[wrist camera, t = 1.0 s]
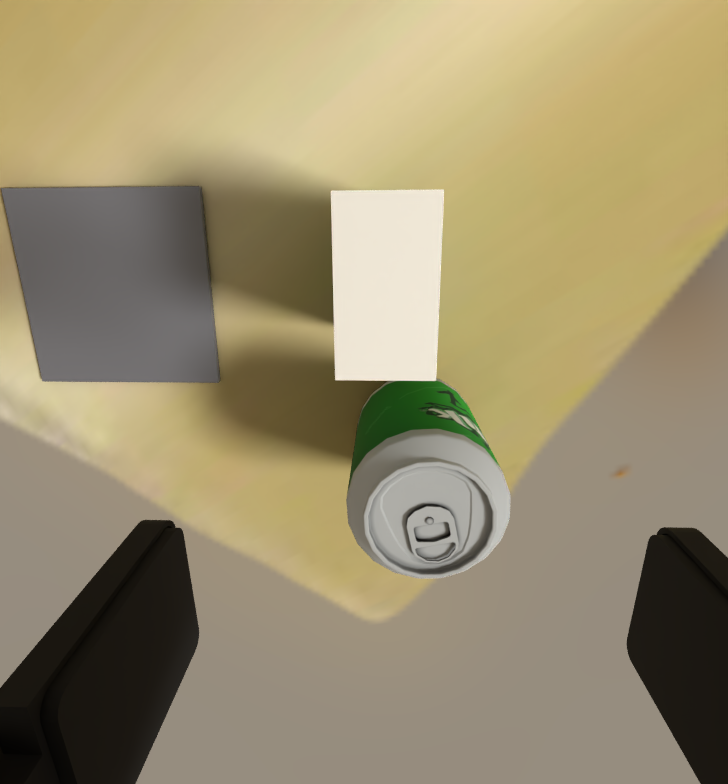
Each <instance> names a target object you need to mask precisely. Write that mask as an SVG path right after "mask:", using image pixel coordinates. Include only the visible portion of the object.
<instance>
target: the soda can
mask: <svg viewBox="0 0 728 784" xmlns="http://www.w3.org/2000/svg"><path fill="white" fill-rule="evenodd" d="M346 501H347V513H348V523H349V526H350V528H351V530H352V532H353V534H354V537H355V539H356V541H357V543H358V545H359V546H360V547H361V548H362V549H363V550H364V551H365V552H366V553H367V554H368V555H369V556H370V558H371V559H372V560H373V561H375V562H377V563H378V564H380V565H382V566H384V567H385V568H387V569H389V570H391V571H392V572H394V573H398V574H402V575H406V576H410V577H414V578H421V579H423V578H443V577H447V576H450V575H453V574H457V573H460V572H463V571H466V570H467V569H469V568H470V567H472V566H474V565H475V564H477V563H478V562H480V561H482V560H483V559H485V558H486V557H487V556H488V555H489V553H490V552H491V551H492V550H493V549H494V548H495V546H496V545H497V544H498V543H499V542H500V541H501V539H502V536H503V534H504V532H505V529H506V527H507V524H508V522H509V519H510V492H509V489H508V486H507V483H506V481H505V478H504V475H503V472H502V470H501V468H500V466H499V464H498V462H497V461H496V459H495V457H494V455H493V453H492V451H491V449H490V447H489V445H488V443H487V441H486V439H485V438H484V436H483V434H482V432H481V430H480V428H479V426H478V424H477V422H476V420H475V418H474V416H473V415H472V413H471V411H470V409H469V407H468V405H467V403H466V402H465V401H464V399H463V398H462V397H461V396H460V394H459V393H458V392H457V391H456V389H454V388H453V387H451V386H449V385H448V384H446V383H445V382H443V381H442V380H440V379H436V381H388V382H386V383H385V384H383V385H382V386H381V387H380V388H378V389H377V390H376V391H374V392H373V393H372V394H371V396H370V397H369V399H368V400H367V402H366V403H365V404H364V406H363V407H362V410H361V414H360V418H359V421H358V426H357V433H356V439H355V446H354V453H353V459H352V466H351V473H350V480H349V486H348V493H347V500H346Z"/></svg>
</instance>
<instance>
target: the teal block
mask: <svg viewBox="0 0 728 784" xmlns="http://www.w3.org/2000/svg"><path fill="white" fill-rule="evenodd" d="M443 204H444V190H348V191H331V219H332V262H333V305H334V348H335V380H366V381H436V369H437V345H438V322H439V298H440V275H441V251H442V227H443Z"/></svg>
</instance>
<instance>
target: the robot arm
mask: <svg viewBox="0 0 728 784" xmlns="http://www.w3.org/2000/svg"><path fill="white" fill-rule="evenodd" d="M198 638H199V627H198V621H197V615H196V608H195V602H194V597H193V590H192V584H191V578H190V571H189V566H188V559H187V554H186V547H185V541H184V534H183V531H182V529H181V528H175V524H174V523H173V522H172V521H170V520H143V521H141V522H140V523H139V524H138V525H137V526H136V527H135V528H134V529H133V531H132V532H131V533H130V534H129V535H128V537H127V538H126V539H125V540H124V541H123V542H122V544H121V545H120V546H119V547H118V548H117V550H116V551H115V552H114V553H113V555H112V556H111V557H110V558H109V559H108V560H107V562H106V563H105V564H104V565H103V566H102V567H101V569H100V570H99V571H98V572H97V573H96V575H95V576H94V577H93V578H92V579H91V581H90V582H89V583H88V584H87V585H86V586H85V588H84V589H83V590H82V591H81V593H80V594H79V595H78V596H77V597H76V598H75V600H74V601H73V602H72V603H71V605H70V606H69V607H68V608H67V609H66V610H65V612H64V613H63V614H62V615H61V616H60V617H59V619H58V620H57V621H56V622H55V623H54V625H53V626H52V627H51V628H50V629H49V631H48V632H47V633H46V634H45V635H44V637H43V638H42V639H41V640H40V641H39V642H38V644H37V645H36V646H35V647H34V649H33V650H32V651H31V652H30V653H29V654H28V656H27V657H26V658H25V659H24V660H23V662H22V663H21V664H20V665H19V666H18V667H17V669H16V670H15V671H14V672H13V674H12V675H11V676H10V677H9V678H8V679H7V681H6V682H5V683H4V684H3V685H2V687H1V688H0V784H135V783H136V781H137V779H138V777H139V774H140V772H141V770H142V768H143V766H144V763H145V761H146V759H147V756H148V754H149V752H150V750H151V748H152V746H153V743H154V741H155V739H156V737H157V735H158V732H159V730H160V728H161V726H162V723H163V721H164V719H165V717H166V714H167V712H168V710H169V708H170V706H171V703H172V701H173V699H174V697H175V695H176V692H177V690H178V688H179V686H180V683H181V681H182V679H183V677H184V675H185V672H186V670H187V668H188V666H189V663H190V661H191V659H192V657H193V655H194V652H195V650H196V647H197V644H198ZM627 650H628V654H629V657H630V660H631V662H632V664H633V666H634V667H635V669H636V671H637V673H638V674H639V676H640V678H641V680H642V681H643V683H644V685H645V686H646V688H647V690H648V692H649V693H650V695H651V697H652V699H653V700H654V703H655V704H656V706H657V708H658V709H659V711H660V713H661V715H662V717H663V718H664V720H665V722H666V723H667V725H668V727H669V729H670V730H671V732H672V734H673V736H674V738H675V739H676V741H677V743H678V745H679V746H680V748H681V750H682V752H683V753H684V755H685V757H686V758H687V761H688V762H689V764H690V766H691V768H692V769H693V771H694V773H695V775H696V776H697V778H698V780H699V781H700V783H701V784H728V558H727V557H726V556H725V555H724V554H723V553H722V552H721V551H720V550H719V549H718V548H717V547H716V546H715V545H714V544H713V543H712V542H710V541H709V539H708V538H706V537H705V536H704V535H703V534H702V533H701V532H700V531H699V530H697V529H695V528H666V527H664V528H661V529H660V530H659V531H658V532H657V535H652V536H651V537H650V539H649V541H648V546H647V550H646V554H645V560H644V564H643V568H642V573H641V578H640V582H639V587H638V591H637V596H636V600H635V605H634V610H633V615H632V619H631V624H630V628H629V633H628V637H627Z"/></svg>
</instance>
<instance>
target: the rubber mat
mask: <svg viewBox="0 0 728 784" xmlns="http://www.w3.org/2000/svg"><path fill="white" fill-rule="evenodd" d="M1 190H2V195H3V200H4V204H5V209H6V214H7V218H8V223H9V227H10V232H11V237H12V241H13V246H14V251H15V255H16V260H17V265H18V269H19V274H20V279H21V283H22V288H23V293H24V297H25V302H26V307H27V311H28V316H29V321H30V325H31V330H32V335H33V339H34V344H35V349H36V353H37V358H38V363H39V367H40V372H41V377H42V381H62V382H200V383H219V382H220V371H219V361H218V351H217V341H216V331H215V321H214V310H213V300H212V290H211V280H210V270H209V260H208V249H207V239H206V229H205V219H204V209H203V199H202V188H201V187H200V186H177V187H76V188H1Z"/></svg>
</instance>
